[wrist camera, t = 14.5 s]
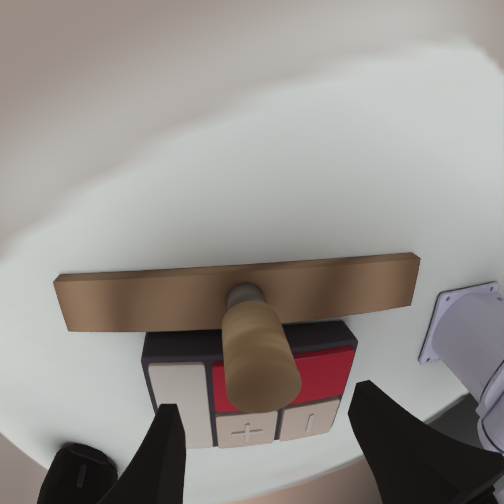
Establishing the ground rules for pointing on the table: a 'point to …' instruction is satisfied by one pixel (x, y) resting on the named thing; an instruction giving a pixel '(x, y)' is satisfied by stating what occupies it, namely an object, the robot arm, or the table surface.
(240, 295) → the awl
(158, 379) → the calculator
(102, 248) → the table surface
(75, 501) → the portable speaker
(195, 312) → the board
